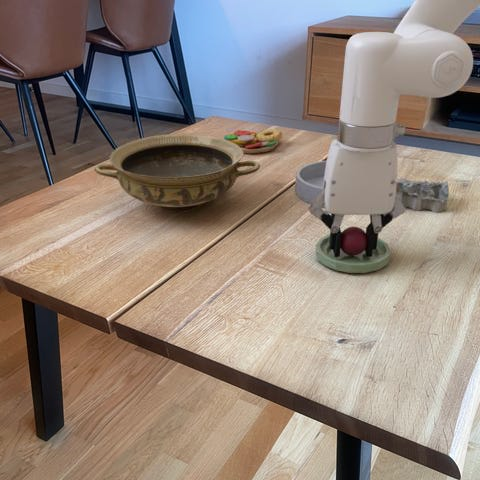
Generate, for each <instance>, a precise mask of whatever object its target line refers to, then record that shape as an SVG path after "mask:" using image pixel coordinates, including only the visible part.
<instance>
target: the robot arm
mask: <svg viewBox="0 0 480 480" xmlns="http://www.w3.org/2000/svg"><path fill="white" fill-rule="evenodd" d="M478 8H480V0H414V2H412V4H411V6H410V8H409V9H408V10H407V11H406V13H405V14H404V16H403V17H402V19H401V21H400V22H399V23H398V24H397V26H396V28H395V30H394V31H393V32H385V31H364V32H357V33H355V34H352V36H351V37H349V39H348V41H347V43H346V45H345V53H344V63H343V74H342V85H341V97H340V108H339V118H338V120H339V121H338V129H337V130H338V131H337V139H333V140H332V141H331V143H330V146H329V149H328V152H327V153H328V154H327V158H326V161H327V162H326V168H325V175H324V182H323V190H322V191H321V193H320V194H319V195H318V196H317V198H316V199H315V200H314V201H313V202H312V204H311V203H310V205H309V206H308V210H309V214H310V215H312V216H313V217H315V218H317V219H318V220H320V221H321V222H322V223H323V224H324V225H325V226H326V227H327V228H328V229H329V234H330V241H329V248H330V250H333V252H334V256H335V257H338V256H340V248H341V239H342V233H341V232H342V231H341V226H342V223H343V220H344V216H348V215H349V216H361V215H362V216H364V215H365V216H367V215H369V224H368V225H367V226H365V227H366V228H365V233H366V235H367V238H368V243H367V247H366V249H365V253H366V255H367V256H368V257H372V252H373V249H376V247H377V240H378V238H379V233H381V232H382V230H383V228H386V226H387V225H388V224H390V223H392V221H393V220H394V219H397V218H398V217H399V216H401V215H403V214H405V212H406V207H404V206H403V204H402V202H401V201H400V199H399V197H398V195H397V194H396V185H397V180H398V145H397V142H396V141H395V139H396V138H397V137H399V136H405V134H406V125H405V124H400V123H398V122H397V116H398V109H399V102H400V96H402V95H405V96H411V97H413V96H414V97H421V98H430V99H437V98H438V99H439V98H444V97H447V96H451V95H453V94H454V93H456V92H457V91H459V90H460V89H461V88H463V86H464V85H465V84H466V83H467V81H469V78H470V76H471V74H472V71H473V67H474V56H473V52H472V50H471V47H470V46H469V45H468V43H467V42H466V41H465V40H464V39H463V38H461V37H460V36H458V35H456V34H454V33H455V32H456V31H457V29H458V28H459V27H460V26H461V25H462V24H463V22H464V21H465V20H466V19H467V18H469V16H470V15H472V14H473V13H474V12H475V11H477V9H478ZM324 204H325V207H324V209H323V207H322V206H323V205H324Z"/></svg>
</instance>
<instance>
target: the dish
mask: <svg viewBox="0 0 480 480" xmlns="http://www.w3.org/2000/svg"><path fill="white" fill-rule="evenodd" d="M326 162H327V160H319V161H314V162H310V163H307V164H304V165H302V166H301V167H299V168H298V169H297V170H296V173H295V187H294V188H295V194H296V195H297V197H298V198H299V199H301V200H302V201H304V202H306V203H308V204H310V205H311V204H312V202H313V201H314V200H315V199H316V198H317V196H318V195H319V194H320V193H321V191H322V190H323V182H324V175H325V168H326ZM322 208H325V204H324V205H323V206H322Z"/></svg>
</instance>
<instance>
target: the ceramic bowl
mask: <svg viewBox="0 0 480 480" xmlns="http://www.w3.org/2000/svg"><path fill="white" fill-rule="evenodd" d="M244 156H245V153H243V151H242V149H241V148H240V147H239V146H238V145H236V144H234V143H232V142H230V141H227V140H224V138H220V137H216V136H211V135H204V134H203V135H202V134H191V133H190V134H189V133H188V134H187V133H175V134H174V133H172V134H171V133H170V134H161V135H160V134H159V135H153V136H152V135H151V136H146V137H142V138H139V139H135V140H132V141H129V142H127V143H124V144H122V145H120V146H118V147H117V148H115V149H114V150H113V151H112V152H111V154H110V155H109V162H110V164H105V163H103V164H97V165H95V166H94V171H95V173H96V174H98V175H99V176H102V177H107V178H111V179H115V180H116V181H118V183H119V185H120V187H121V188H122V189H123V191H124V192H126V193H127V195H129V196H130V197H131V198H133V199H135V200H138V201H140V202H143V203H145V204H148V205H152V206H157V207H159V209H161V210H163V211H165V212H168V211H169V212H168V213H174V212H181V213H187V212H186V211H188V212H192V211H195V210H196V208H197V209H198V208H200V207H201V206H202V204H205V203H208V202H211V201H214V200H215V199H217V198H220V197H221V196H223V195H224V194H226V193H227V192H228V191H229V190H231V188H233V186H234V184H235V183H236V180H237V179H239V177H243V176H248V175H251V174H254V173H256V172H257V171H259V170H260V168H261V164H260V163H259V162H258V161H255V160H246V161H241V160H242V158H243V157H244ZM243 167H250V168H248V169H243V170H238V169H239V168H243ZM112 171H115V172H112ZM194 209H195V210H194ZM191 210H192V211H191Z"/></svg>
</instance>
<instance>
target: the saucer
mask: <svg viewBox="0 0 480 480" xmlns="http://www.w3.org/2000/svg"><path fill="white" fill-rule="evenodd" d="M342 232H343V231H341V233H342ZM329 241H330V233H329V234H327V235H325V236H323V237H321V238H320V239H319V240H318V241H317V242H316V244H315V256H316V260H317V261H319V263H321V264H322V265H323V266H325V267H327V268H330V269H333V270H335V271H339V272H343V273H349V274H359V273H360V274H365V273H370V272H374V271H375V272H376V271H379V270H381V269H382V268H384V267H386V266H387V265H388V263H389V261H390V258H391V252H392V250H391V248H390V246H389V244H388V243H387V242H386V241H384V239H381V238H380V237H378V240H377V247H376V249H373V252H372V257H368V256H367V255H366V253H365V250H364V251H363V252H362V253H360V254H358V255H354V256H352V255H347V254H345V253H344V252H343V251H342V250H341V249H340V256H338V257H335V256H334V252H333V250H330V248H329Z"/></svg>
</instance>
